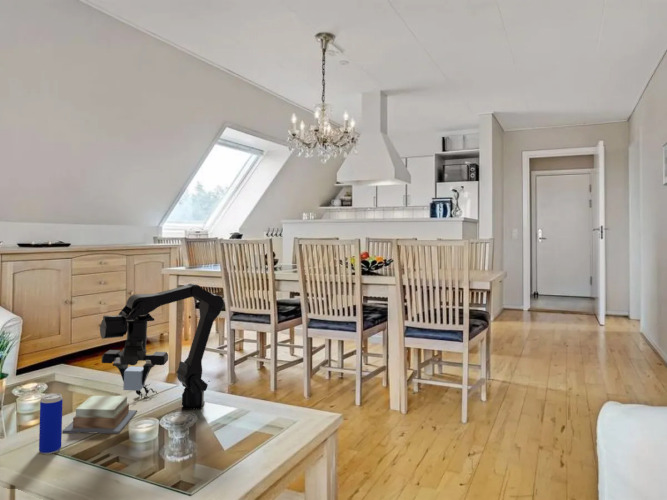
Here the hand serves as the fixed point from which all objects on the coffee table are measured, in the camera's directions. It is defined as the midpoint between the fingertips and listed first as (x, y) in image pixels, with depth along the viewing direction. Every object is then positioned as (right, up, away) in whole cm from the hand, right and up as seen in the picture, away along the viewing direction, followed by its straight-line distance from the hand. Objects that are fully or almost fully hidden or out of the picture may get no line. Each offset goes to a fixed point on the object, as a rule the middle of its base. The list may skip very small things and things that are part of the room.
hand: (134, 384), depth 148 cm
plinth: (-9, -11, -2) cm, 15 cm away
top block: (0, -1, 0) cm, 1 cm away
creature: (-5, -11, +21) cm, 24 cm away
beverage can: (-14, -12, -21) cm, 28 cm away
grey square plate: (-9, -11, -2) cm, 15 cm away
